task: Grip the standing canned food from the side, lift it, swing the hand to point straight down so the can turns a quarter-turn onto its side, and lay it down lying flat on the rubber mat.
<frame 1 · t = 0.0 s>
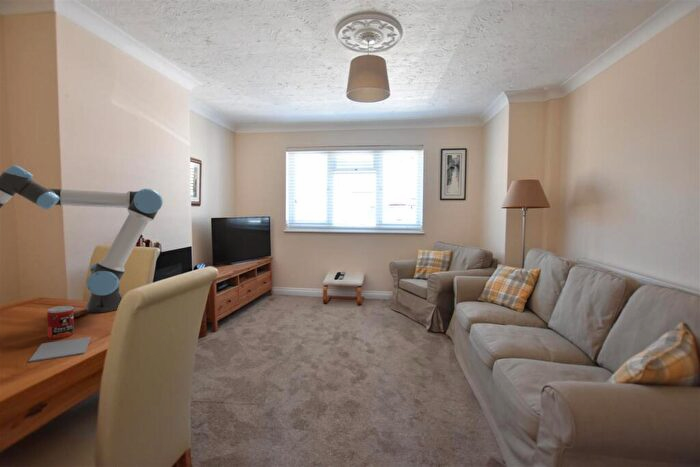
rubber mat: (62, 349, 115), on the table
canned food: (60, 336, 127), on the table
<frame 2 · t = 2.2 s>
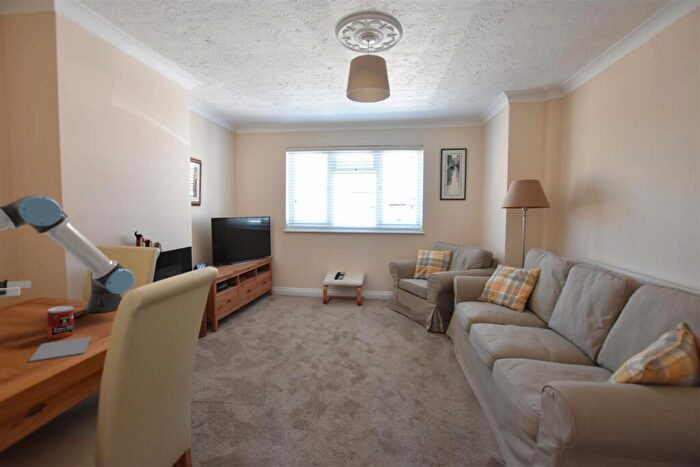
hand: (25, 287, 121), 20 cm above the table, tool horizontal, fingers open, 13 cm apart
nothing on the table moved.
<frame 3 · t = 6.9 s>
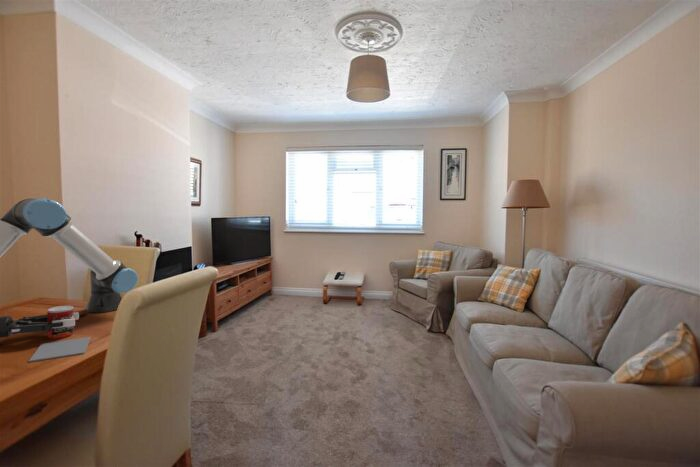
hand: (76, 318, 129), 6 cm above the table, tool horizontal, fingers closed on canned food, 8 cm apart
canned food: (61, 336, 127), on the table, touching gripper
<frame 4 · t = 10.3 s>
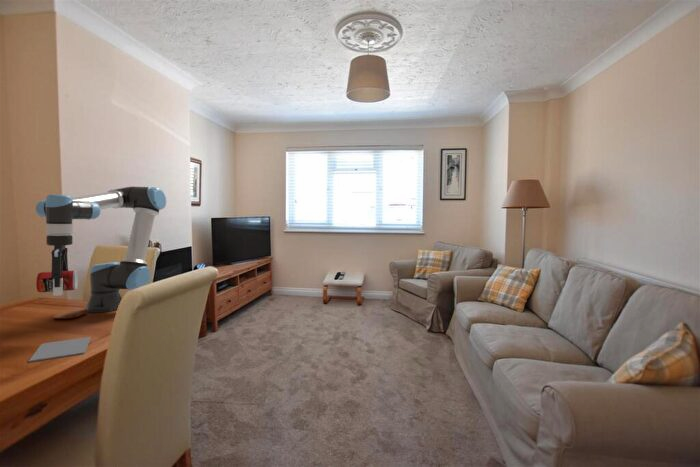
hand: (60, 292, 126), 17 cm above the table, tool pointing down, fingers closed on canned food, 8 cm apart
canned food: (38, 282, 122), point 22 cm above the table, touching gripper
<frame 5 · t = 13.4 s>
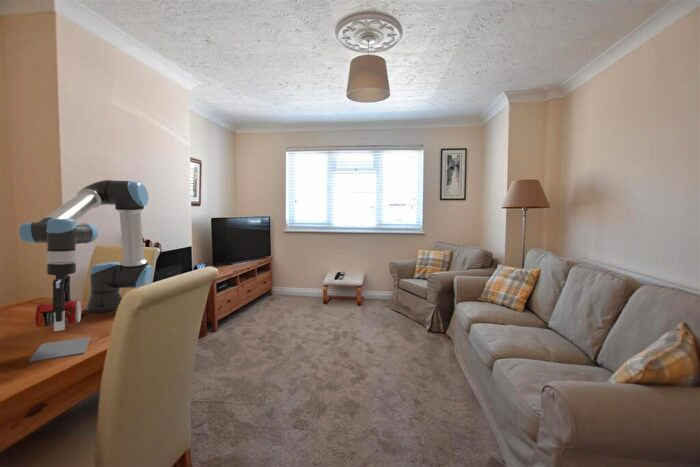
hand: (62, 326, 114), 8 cm above the table, tool pointing down, fingers closed on canned food, 8 cm apart
canned food: (37, 315, 111), point 13 cm above the table, touching gripper
when the fingers open (3 cm above the table, at t = 14.9 s): canned food drops 3 cm, resting on rubber mat.
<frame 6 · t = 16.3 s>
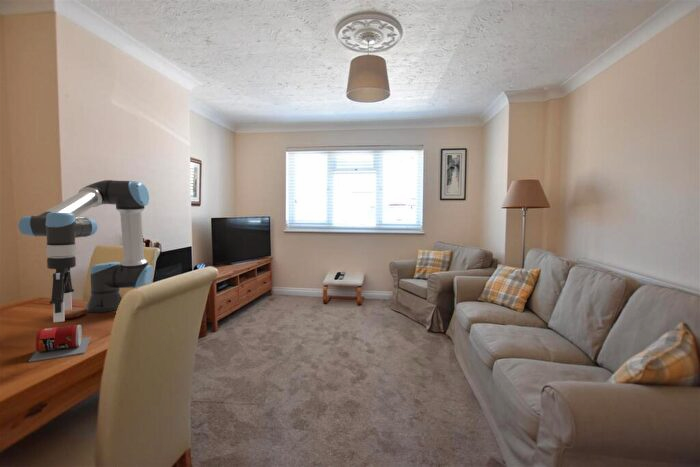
hand: (63, 315, 115), 12 cm above the table, tool pointing down, fingers open, 13 cm apart
canned food: (38, 340, 111), point 4 cm above the table, touching rubber mat
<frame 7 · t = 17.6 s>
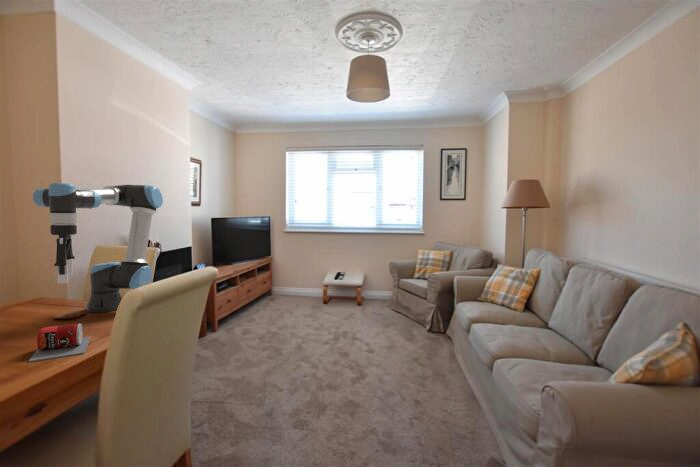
hand: (65, 279, 125), 23 cm above the table, tool pointing down, fingers open, 13 cm apart
canned food: (39, 339, 112), point 4 cm above the table, touching rubber mat
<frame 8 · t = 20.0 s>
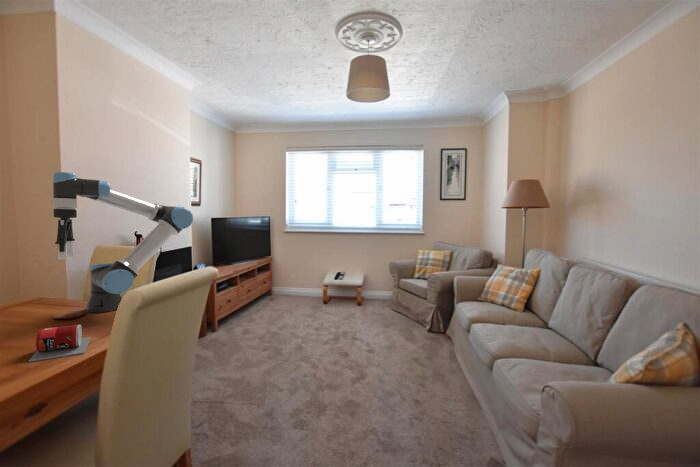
hand: (65, 257, 140), 29 cm above the table, tool pointing down, fingers open, 13 cm apart
canned food: (38, 340, 111), point 4 cm above the table, touching rubber mat
at the end: canned food tilted 90°; canned food 6.3 cm from the rubber mat (horizontally); canned food touching rubber mat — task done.
